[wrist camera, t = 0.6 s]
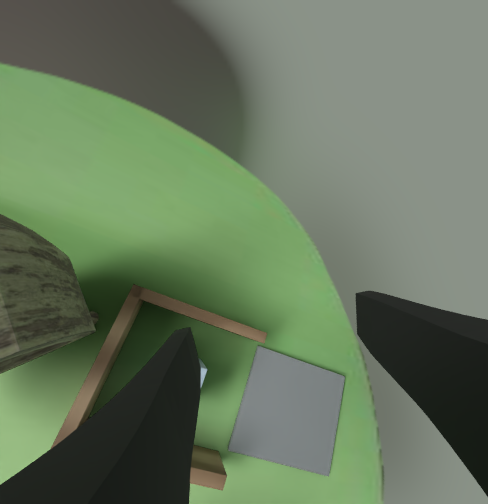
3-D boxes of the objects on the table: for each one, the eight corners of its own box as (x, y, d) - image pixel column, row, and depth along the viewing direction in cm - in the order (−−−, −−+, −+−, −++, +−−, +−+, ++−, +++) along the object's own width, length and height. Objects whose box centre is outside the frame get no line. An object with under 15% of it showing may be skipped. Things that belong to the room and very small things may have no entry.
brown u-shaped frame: (214, 463, 27) (222, 490, 23) (69, 428, 24) (49, 451, 20) (254, 330, 32) (267, 333, 28) (138, 288, 29) (133, 284, 25)
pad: (326, 473, 31) (328, 476, 30) (227, 448, 28) (228, 450, 28) (342, 375, 35) (345, 376, 34) (257, 345, 32) (258, 346, 32)
